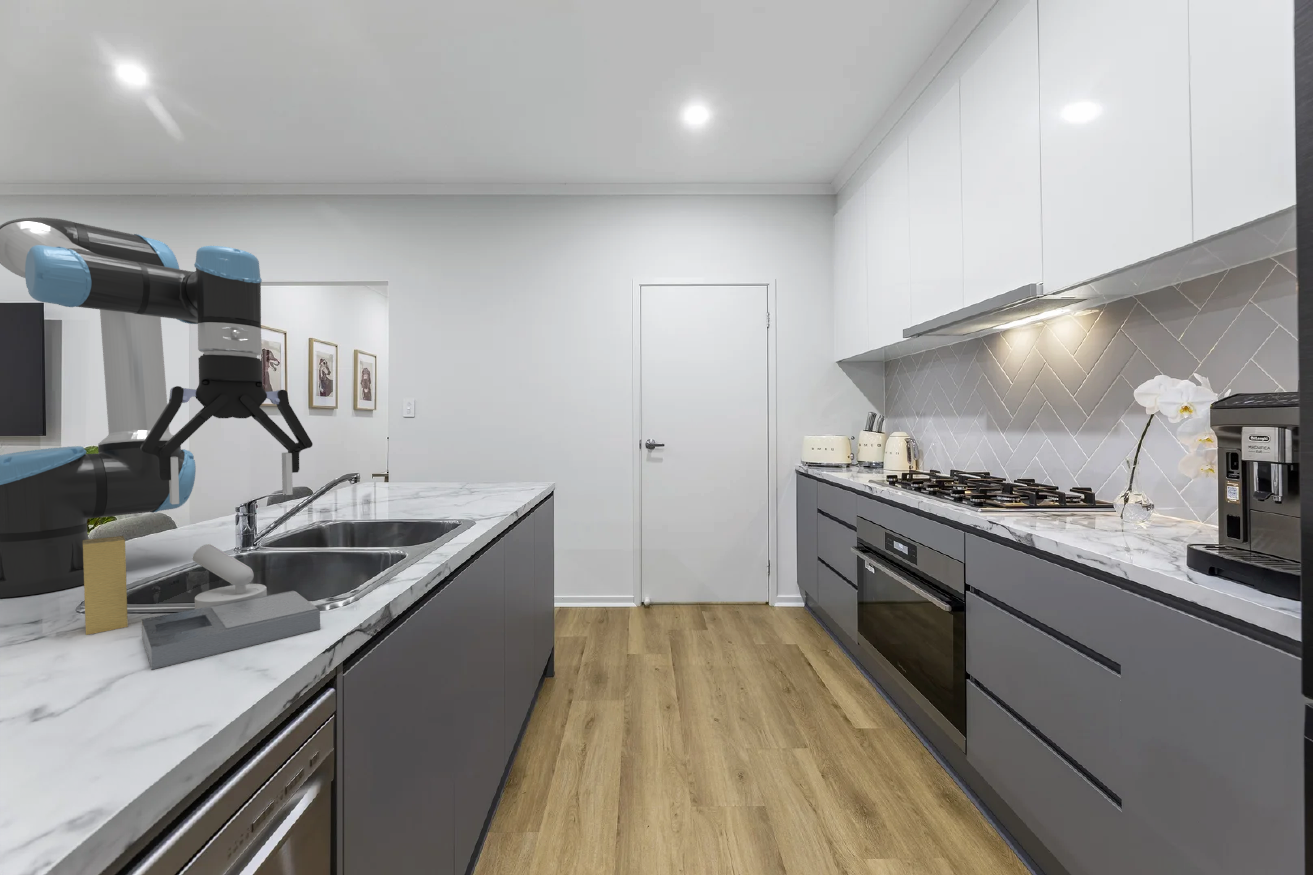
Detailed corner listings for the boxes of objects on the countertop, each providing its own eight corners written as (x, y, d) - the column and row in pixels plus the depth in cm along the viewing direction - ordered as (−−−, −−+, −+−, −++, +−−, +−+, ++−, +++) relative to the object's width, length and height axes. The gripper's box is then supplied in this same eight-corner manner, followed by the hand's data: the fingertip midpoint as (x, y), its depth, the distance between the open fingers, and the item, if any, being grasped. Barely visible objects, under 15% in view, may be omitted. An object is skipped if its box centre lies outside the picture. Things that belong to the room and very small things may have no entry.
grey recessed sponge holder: (141, 638, 72) (141, 618, 72) (293, 606, 85) (293, 589, 85) (151, 669, 63) (151, 646, 63) (320, 629, 76) (319, 610, 76)
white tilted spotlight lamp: (226, 538, 89) (279, 540, 87) (228, 597, 89) (280, 601, 87) (169, 550, 81) (226, 553, 79) (171, 615, 81) (228, 620, 79)
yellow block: (85, 627, 76) (82, 540, 76) (125, 619, 79) (123, 535, 79) (85, 634, 74) (82, 544, 73) (127, 626, 76) (124, 539, 76)
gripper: (115, 345, 71) (120, 510, 72) (332, 360, 89) (334, 492, 90) (112, 350, 76) (117, 504, 77) (318, 363, 94) (320, 488, 95)
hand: (234, 498), depth 83 cm, fingers open, 13 cm apart
